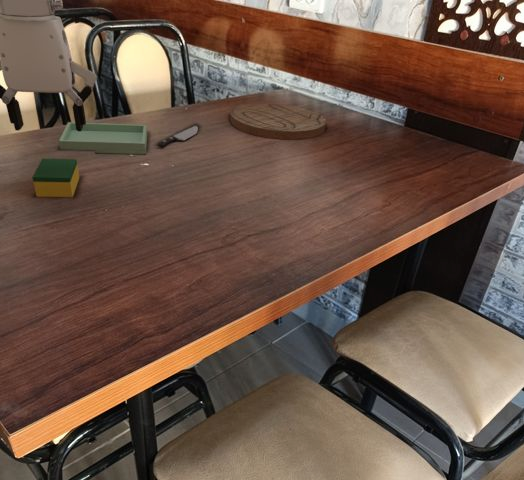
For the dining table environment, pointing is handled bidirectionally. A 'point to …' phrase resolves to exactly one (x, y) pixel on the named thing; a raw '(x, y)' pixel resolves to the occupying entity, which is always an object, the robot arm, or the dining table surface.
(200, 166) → the dining table surface
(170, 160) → the dining table surface
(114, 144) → the tray
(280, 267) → the dining table surface
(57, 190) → the sponge
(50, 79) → the robot arm
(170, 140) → the chef's knife
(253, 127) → the trivet
